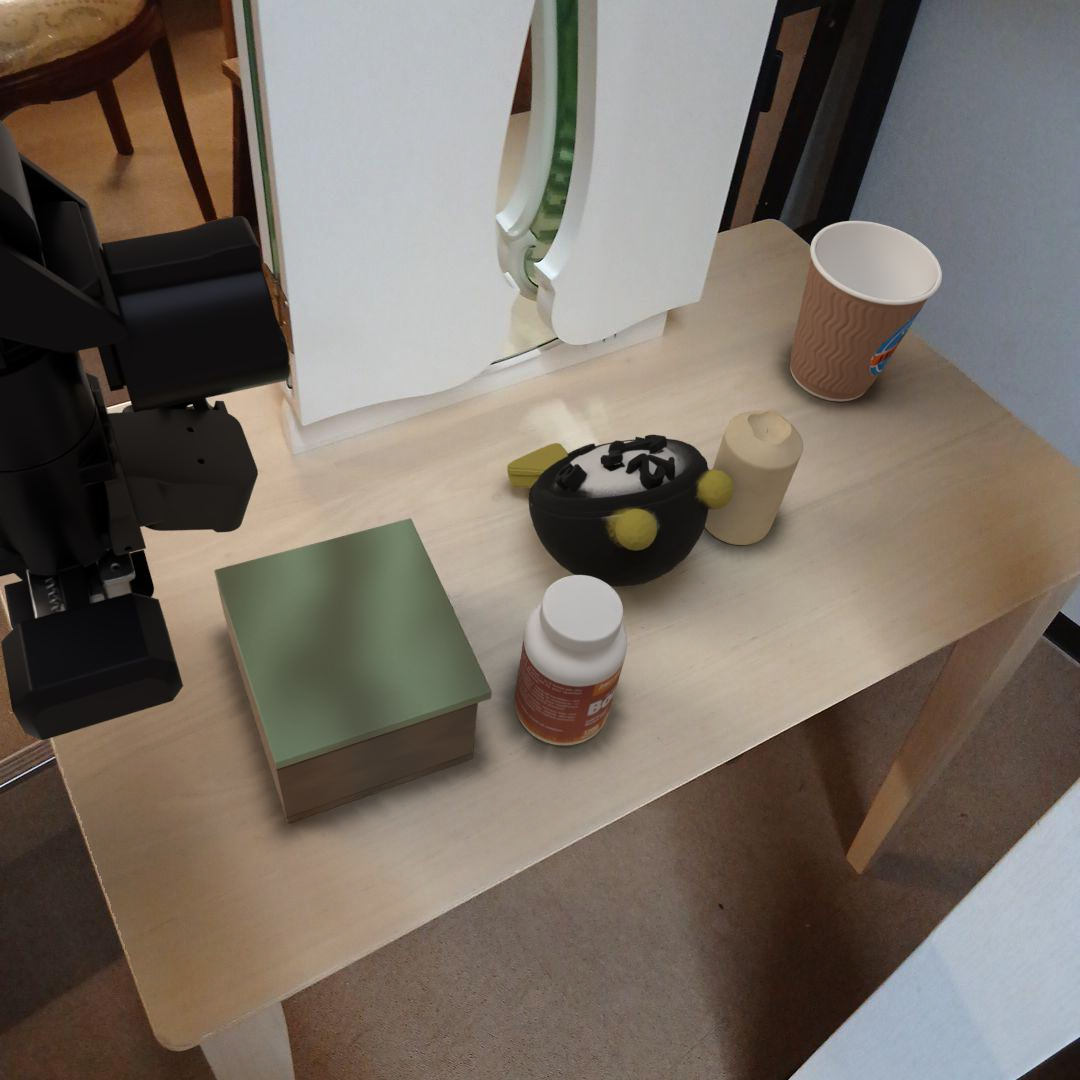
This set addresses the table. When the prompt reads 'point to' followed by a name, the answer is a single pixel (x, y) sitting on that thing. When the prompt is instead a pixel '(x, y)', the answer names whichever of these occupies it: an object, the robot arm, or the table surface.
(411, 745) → the chest
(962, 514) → the table surface
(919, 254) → the coffee cup
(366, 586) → the lid
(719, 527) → the candle
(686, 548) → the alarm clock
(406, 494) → the table surface
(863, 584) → the table surface
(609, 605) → the pill bottle
